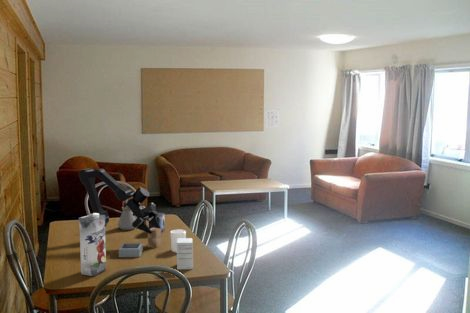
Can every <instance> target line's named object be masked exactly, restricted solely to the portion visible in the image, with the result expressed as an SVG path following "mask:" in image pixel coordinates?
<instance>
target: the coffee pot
mask: <svg viewBox="0 0 470 313" xmlns="http://www.w3.org/2000/svg"><path fill="white" fill-rule="evenodd" d="M101 206H102V208H103V209H104V208H105V209H106V210H110V211H114V212H117V213H120V217H119V219H118V222H117V226H118V228H119V229H121V231H132V230H134V229H135V228H134V227H133V226H132V223H133V222H134V221H135V220H136V219H137V218H136V216H135V215H134V216H133V215H132V214H133V212H132V211H131V210H130V209H129V208H128V207H126V208H123V206H122V207H121V209H122V211H121V210H117V209H115V208H112V207H110V206H106V205H102V204H101Z"/></svg>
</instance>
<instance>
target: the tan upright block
mask: <svg viewBox="0 0 470 313" xmlns="http://www.w3.org/2000/svg"><path fill="white" fill-rule="evenodd" d="M150 230H151V232H152V233H151V234H149V233H147V247H148V248H153V249H155V248H156V249H157V248H158V247H160V246H162V233H161V228H151V229H150Z"/></svg>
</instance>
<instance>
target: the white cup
mask: <svg viewBox="0 0 470 313" xmlns="http://www.w3.org/2000/svg"><path fill="white" fill-rule="evenodd" d="M169 232H170V246H171V252H173V253H177V238H187V230H185V229H182V228H181V229H179V228H178V229H173V230H170V231H169Z"/></svg>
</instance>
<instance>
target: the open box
mask: <svg viewBox="0 0 470 313" xmlns="http://www.w3.org/2000/svg"><path fill="white" fill-rule="evenodd" d="M143 244H144V243H143V242H122V244H121V245H120V247H119V248H118V258H140V257H141V255H142V253H143V251H144V248H143V246H144V245H143Z"/></svg>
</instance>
